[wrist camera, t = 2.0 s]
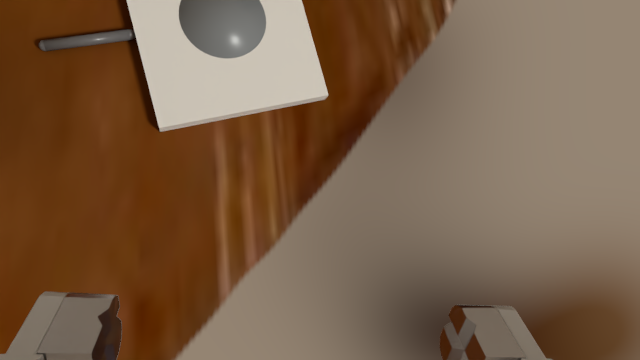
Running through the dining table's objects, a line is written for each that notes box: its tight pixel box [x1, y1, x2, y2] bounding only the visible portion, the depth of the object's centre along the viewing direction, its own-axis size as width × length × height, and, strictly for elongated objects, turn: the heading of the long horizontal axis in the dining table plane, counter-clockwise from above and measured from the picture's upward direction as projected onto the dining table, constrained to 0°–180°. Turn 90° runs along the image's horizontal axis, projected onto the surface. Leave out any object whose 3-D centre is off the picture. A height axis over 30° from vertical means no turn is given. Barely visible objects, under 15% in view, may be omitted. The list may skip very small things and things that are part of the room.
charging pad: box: [39, 0, 328, 132], centre depth 36 cm, size 16×21×1 cm
